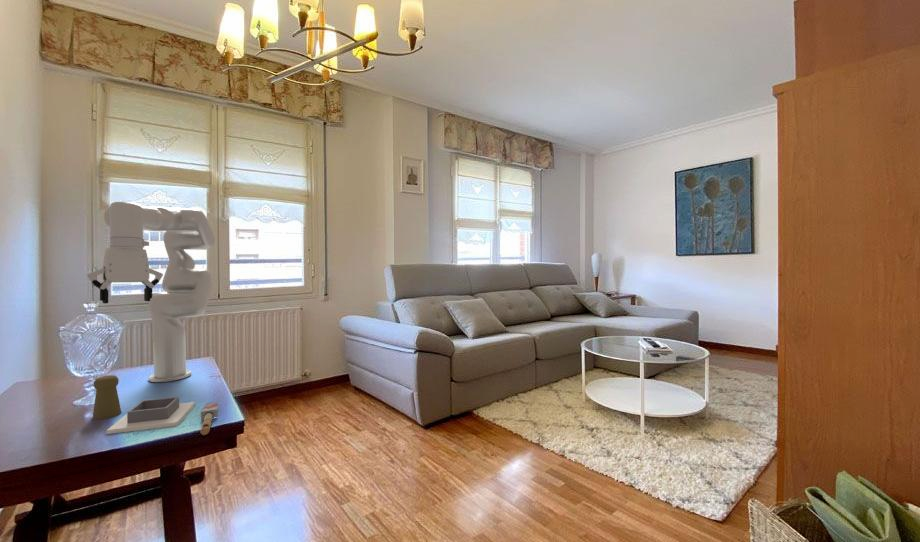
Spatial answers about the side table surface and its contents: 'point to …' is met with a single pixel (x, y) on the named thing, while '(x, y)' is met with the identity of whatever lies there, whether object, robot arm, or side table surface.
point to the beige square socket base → (152, 415)
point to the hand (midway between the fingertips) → (127, 302)
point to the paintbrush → (208, 416)
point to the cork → (106, 398)
